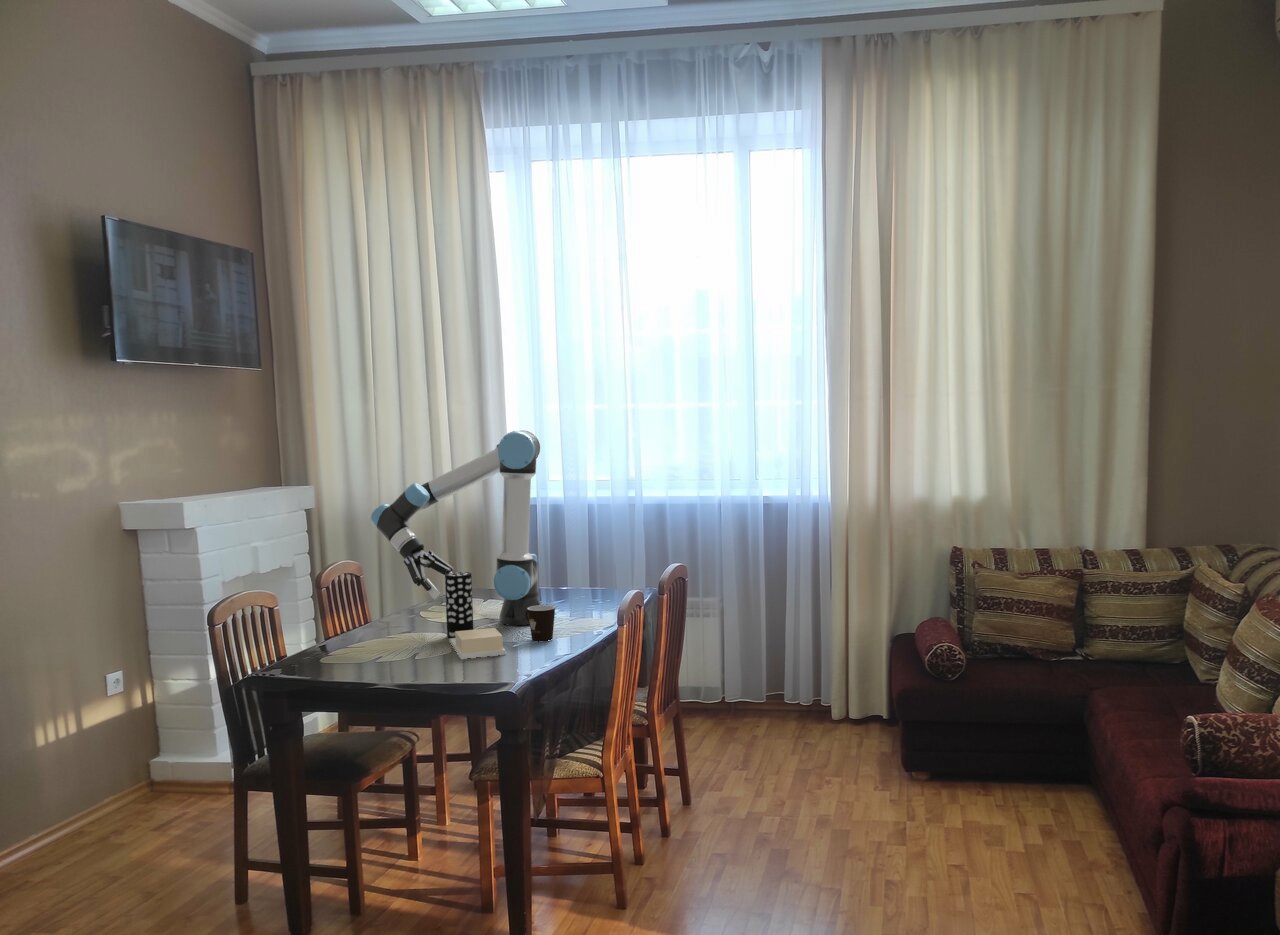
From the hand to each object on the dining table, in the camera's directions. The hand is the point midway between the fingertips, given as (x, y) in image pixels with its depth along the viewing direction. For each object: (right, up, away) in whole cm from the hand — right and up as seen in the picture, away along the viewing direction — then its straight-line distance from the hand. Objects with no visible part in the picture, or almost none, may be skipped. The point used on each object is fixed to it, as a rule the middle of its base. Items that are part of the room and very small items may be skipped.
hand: (449, 592), depth 321 cm
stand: (+11, -15, -17) cm, 25 cm away
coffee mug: (+30, -14, -6) cm, 33 cm away
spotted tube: (+3, -14, 0) cm, 14 cm away
